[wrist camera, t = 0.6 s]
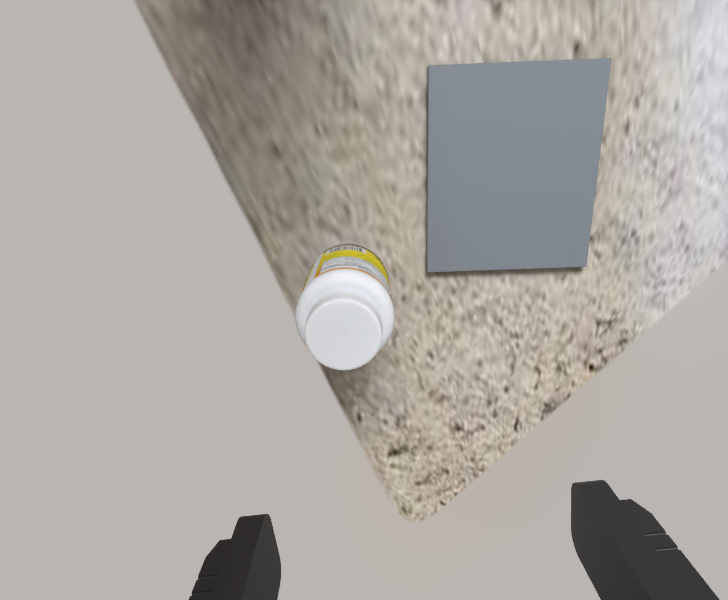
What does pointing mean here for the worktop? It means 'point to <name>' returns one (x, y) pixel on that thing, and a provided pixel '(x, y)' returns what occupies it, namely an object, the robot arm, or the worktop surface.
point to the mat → (513, 163)
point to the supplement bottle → (345, 307)
